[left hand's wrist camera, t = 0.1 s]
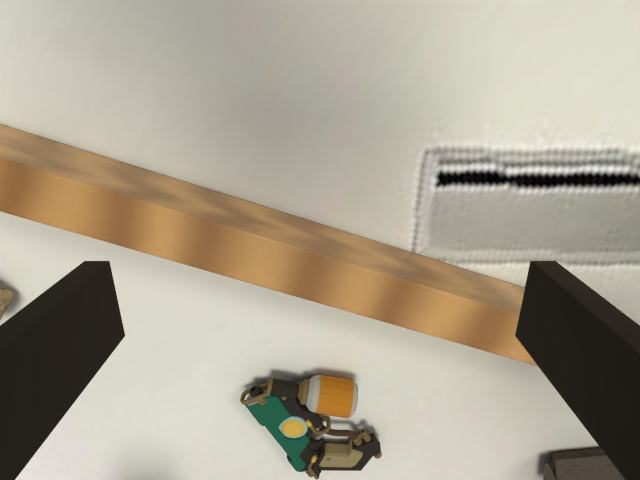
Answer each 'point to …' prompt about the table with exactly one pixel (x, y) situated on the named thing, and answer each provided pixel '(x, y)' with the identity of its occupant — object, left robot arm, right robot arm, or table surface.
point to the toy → (581, 466)
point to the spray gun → (312, 422)
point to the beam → (254, 243)
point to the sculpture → (5, 300)
